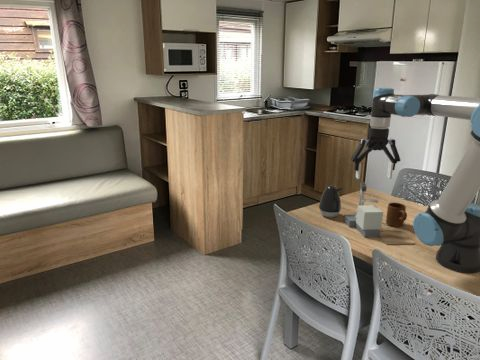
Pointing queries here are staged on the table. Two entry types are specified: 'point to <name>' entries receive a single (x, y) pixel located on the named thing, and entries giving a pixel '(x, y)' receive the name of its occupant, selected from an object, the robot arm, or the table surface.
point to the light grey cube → (369, 217)
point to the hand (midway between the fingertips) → (373, 177)
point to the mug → (396, 214)
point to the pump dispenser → (330, 202)
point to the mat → (395, 238)
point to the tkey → (362, 193)
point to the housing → (351, 222)
